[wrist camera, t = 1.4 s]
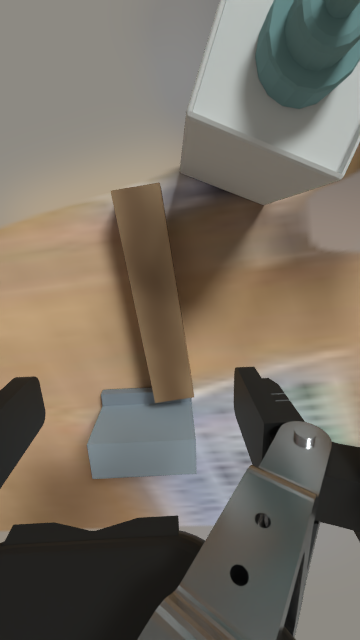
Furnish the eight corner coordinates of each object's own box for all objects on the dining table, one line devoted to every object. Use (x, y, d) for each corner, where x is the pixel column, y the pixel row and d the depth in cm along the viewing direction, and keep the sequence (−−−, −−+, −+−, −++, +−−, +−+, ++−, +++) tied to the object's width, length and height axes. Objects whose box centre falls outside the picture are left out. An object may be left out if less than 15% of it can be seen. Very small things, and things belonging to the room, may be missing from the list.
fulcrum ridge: (190, 385, 32) (195, 425, 25) (192, 436, 34) (196, 485, 27) (103, 389, 32) (84, 430, 25) (110, 440, 34) (94, 491, 27)
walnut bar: (161, 190, 26) (159, 182, 22) (191, 377, 32) (194, 397, 28) (119, 197, 26) (110, 190, 22) (157, 383, 32) (155, 403, 28)
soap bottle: (210, 63, 23) (349, -566, 5) (304, 105, 24) (706, -288, 6) (177, 172, 26) (188, 15, 7) (264, 206, 27) (465, 143, 8)
